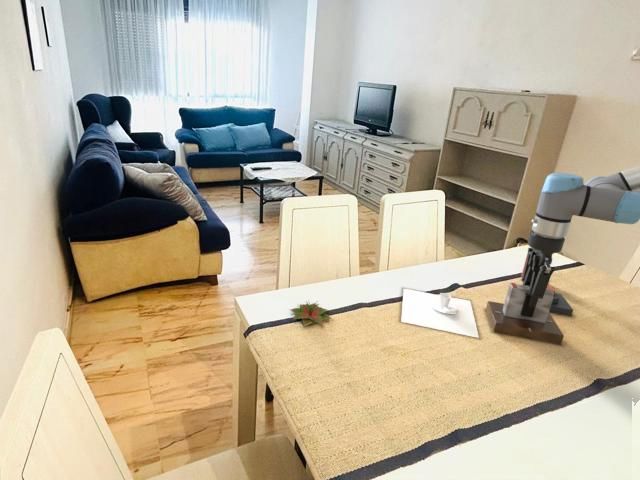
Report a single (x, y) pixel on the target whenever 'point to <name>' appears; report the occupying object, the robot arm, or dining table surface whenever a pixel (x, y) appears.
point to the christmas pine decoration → (310, 313)
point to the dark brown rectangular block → (523, 325)
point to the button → (551, 289)
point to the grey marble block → (516, 302)
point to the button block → (560, 305)
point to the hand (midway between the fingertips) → (524, 312)
